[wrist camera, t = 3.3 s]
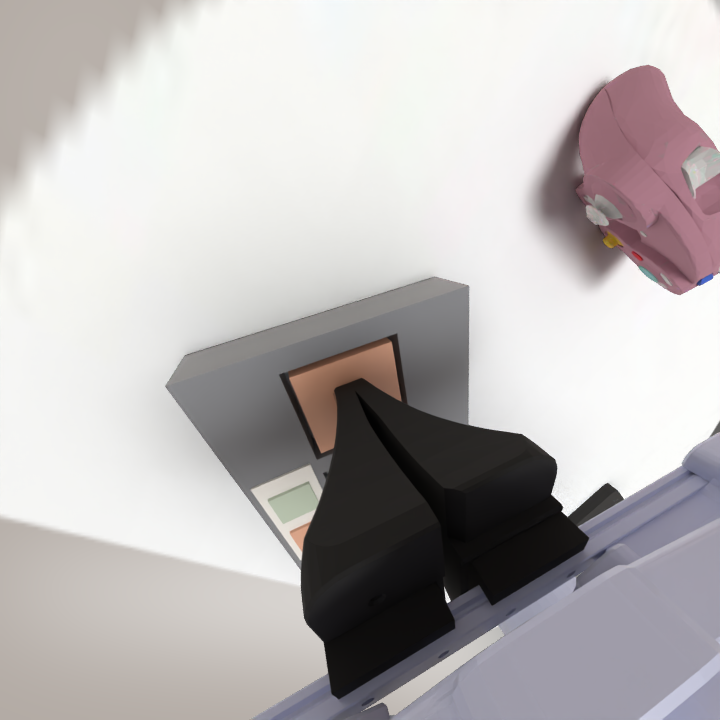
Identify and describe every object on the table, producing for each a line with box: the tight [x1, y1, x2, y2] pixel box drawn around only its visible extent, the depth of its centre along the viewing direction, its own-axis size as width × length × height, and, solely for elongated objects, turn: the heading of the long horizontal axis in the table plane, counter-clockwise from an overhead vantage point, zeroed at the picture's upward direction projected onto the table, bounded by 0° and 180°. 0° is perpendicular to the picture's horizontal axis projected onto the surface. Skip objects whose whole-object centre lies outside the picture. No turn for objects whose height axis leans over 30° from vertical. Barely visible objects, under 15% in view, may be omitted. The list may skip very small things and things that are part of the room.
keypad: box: [165, 277, 469, 570], centre depth 15 cm, size 19×12×3 cm, turn 14°
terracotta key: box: [288, 337, 402, 453], centre depth 12 cm, size 4×4×2 cm
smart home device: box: [568, 483, 624, 527], centre depth 37 cm, size 8×2×20 cm
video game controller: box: [575, 65, 720, 295], centre depth 12 cm, size 10×5×7 cm
